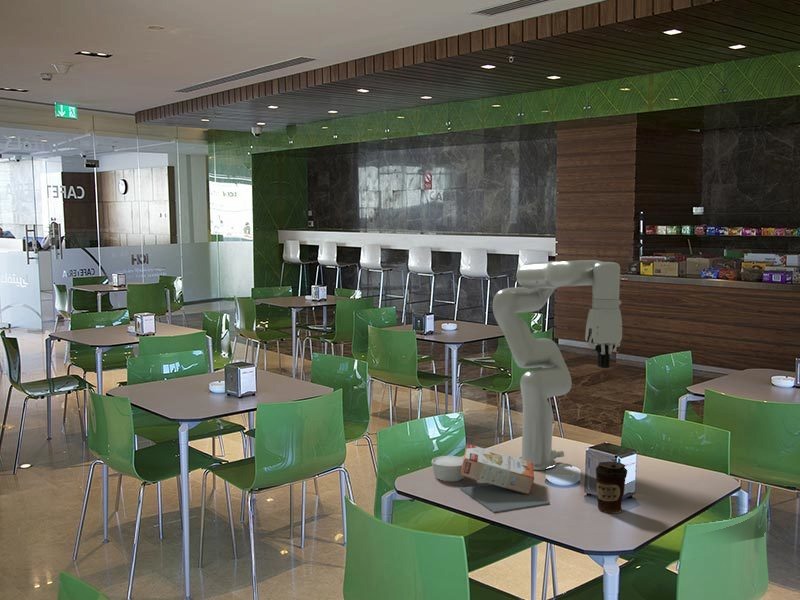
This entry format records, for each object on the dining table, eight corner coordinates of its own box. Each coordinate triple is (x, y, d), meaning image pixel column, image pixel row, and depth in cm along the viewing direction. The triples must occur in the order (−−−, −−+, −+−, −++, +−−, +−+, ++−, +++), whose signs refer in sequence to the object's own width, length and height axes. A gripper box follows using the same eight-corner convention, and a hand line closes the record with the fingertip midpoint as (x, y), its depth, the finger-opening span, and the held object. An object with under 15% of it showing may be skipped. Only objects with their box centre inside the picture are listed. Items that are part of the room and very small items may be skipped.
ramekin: (427, 472, 248) (427, 456, 247) (460, 470, 251) (461, 454, 250) (437, 484, 237) (437, 467, 237) (472, 481, 240) (472, 464, 239)
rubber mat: (512, 482, 239) (513, 480, 239) (549, 504, 221) (549, 502, 221) (460, 489, 232) (460, 488, 232) (493, 513, 214) (493, 511, 214)
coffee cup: (621, 518, 211) (622, 471, 210) (590, 512, 215) (592, 466, 214) (628, 507, 218) (630, 462, 217) (599, 502, 223) (600, 457, 221)
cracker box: (535, 476, 226) (464, 457, 228) (530, 495, 227) (459, 476, 229) (533, 460, 240) (466, 442, 242) (528, 478, 241) (462, 461, 243)
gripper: (618, 302, 233) (616, 363, 235) (576, 304, 227) (574, 366, 229) (634, 305, 226) (632, 367, 228) (592, 307, 220) (590, 371, 222)
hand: (603, 367), depth 228 cm, fingers closed
